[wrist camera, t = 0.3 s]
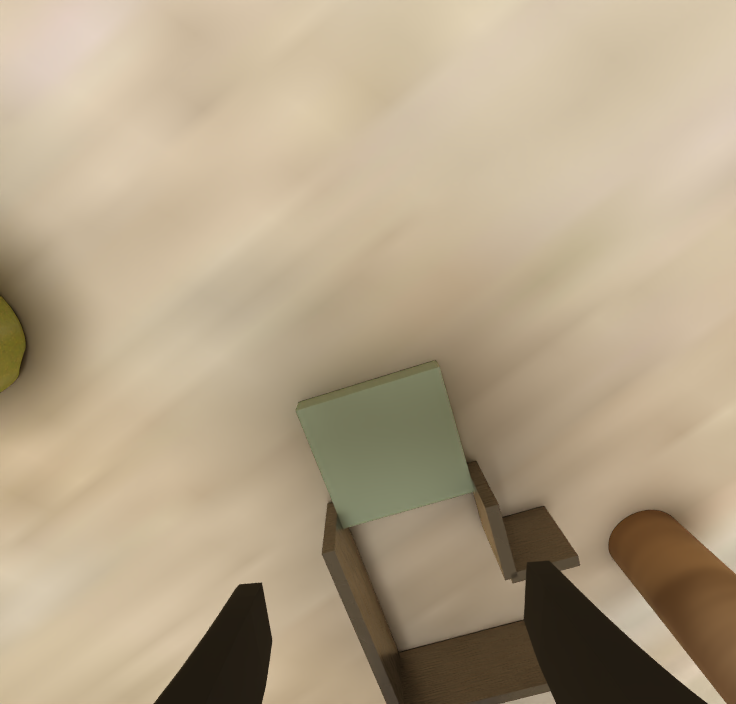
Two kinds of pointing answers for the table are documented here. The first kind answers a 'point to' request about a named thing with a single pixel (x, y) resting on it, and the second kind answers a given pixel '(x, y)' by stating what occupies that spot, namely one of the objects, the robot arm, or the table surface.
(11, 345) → the plant pot
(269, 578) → the table surface
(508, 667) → the walled course
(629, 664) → the robot arm
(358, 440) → the end pad
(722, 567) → the peg
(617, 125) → the table surface
